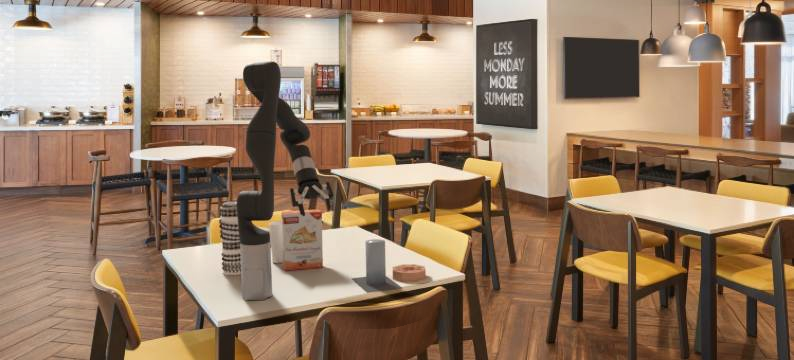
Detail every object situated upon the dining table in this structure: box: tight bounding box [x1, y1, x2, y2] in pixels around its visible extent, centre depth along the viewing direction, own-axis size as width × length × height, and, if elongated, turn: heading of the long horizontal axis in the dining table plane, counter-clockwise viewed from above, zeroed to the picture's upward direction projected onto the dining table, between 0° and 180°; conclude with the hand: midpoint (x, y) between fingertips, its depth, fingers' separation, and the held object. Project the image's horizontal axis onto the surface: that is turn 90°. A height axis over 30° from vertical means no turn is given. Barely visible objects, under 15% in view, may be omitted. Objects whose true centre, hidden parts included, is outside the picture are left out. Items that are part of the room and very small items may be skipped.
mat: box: [350, 275, 404, 294], centre depth 222 cm, size 18×12×1 cm, turn 21°
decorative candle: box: [218, 201, 241, 276], centre depth 240 cm, size 9×9×25 cm
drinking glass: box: [268, 220, 283, 264], centre depth 253 cm, size 7×7×15 cm
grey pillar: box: [365, 238, 387, 286], centre depth 221 cm, size 6×6×14 cm
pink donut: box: [392, 263, 427, 283], centre depth 229 cm, size 11×11×4 cm
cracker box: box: [281, 209, 324, 271], centre depth 244 cm, size 14×6×21 cm, turn 105°
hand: (316, 212), depth 227 cm, fingers open, 8 cm apart
